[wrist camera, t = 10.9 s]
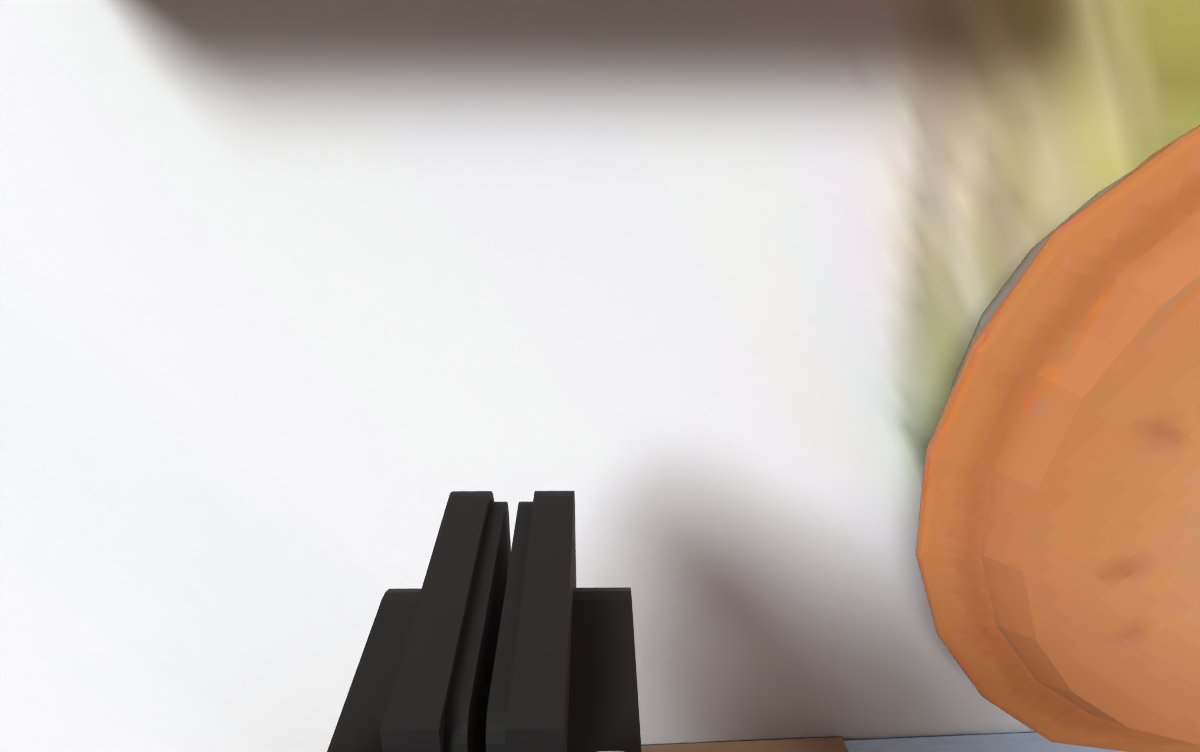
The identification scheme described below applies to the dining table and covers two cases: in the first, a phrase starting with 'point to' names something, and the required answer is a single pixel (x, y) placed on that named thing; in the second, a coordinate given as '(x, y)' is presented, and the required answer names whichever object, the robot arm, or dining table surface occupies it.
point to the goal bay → (968, 744)
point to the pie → (1081, 476)
